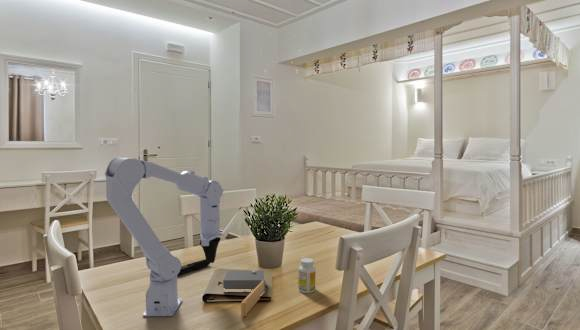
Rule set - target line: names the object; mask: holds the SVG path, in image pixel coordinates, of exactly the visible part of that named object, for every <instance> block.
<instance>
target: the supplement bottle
mask: <svg viewBox="0 0 580 330" xmlns="http://www.w3.org/2000/svg"><path fill="white" fill-rule="evenodd" d="M314 265H315V263H314V259H313V258H310V257H305V258H301V259H300V266H299V267H298V280H297V281H298V285H297V286H298V288H297V289H298V291H299V292H300V293H303V294H311V293H314V292H315V291H316V273H317V271H316V267H315V266H314Z"/></svg>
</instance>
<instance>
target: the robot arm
mask: <svg viewBox="0 0 580 330" xmlns="http://www.w3.org/2000/svg"><path fill="white" fill-rule="evenodd" d="M104 176H105V178H106V179H105V180H106V182H105V185H106V187H105V188H106V194H105V195H106V197H105V198H106V201H107V203H108V204H109V205H110V207H111V208H112V210H113V212H115V213H116V215H117V216H118V218H119V219H120V220H121V222H122V224H123V225H124V227H125V228H126V229H127V231H128V232H129V234H130V235H131V236H132V238H133V239H134V240H135V242H136V243H137V245H138V246H139V248H140V249H141V251H142V254H143V255H142V256H144V258H145V261H146V266H147V268H148V270H150V274H149V287H148V288H147V290H146V291H145V311H144V312H143V313H142V316H143V317H172V316H173V315H174V314H175V312H176V311H177V309H179V306H180V305H181V303H182V302H183V298H178V297H179V296H178V292H179V291H178V289H179V288H178V277H177V275H178V273H179V272H180V269H181V266H182V264H181V263H182V261H181V260H180V258H178V257H177V256H174V255H173V254H172V253H171V252H170V250H169V249H167V247H166V246H165V245H164V244H162V242H161V241H160V239H159V237H158V236H157V234H156V233H155V231H154V229H152V227H151V226H150V224H149V223H148V221H147V220H146V218H145V216H144V215H143V213H142V212H141V210H140V208H138V207H137V205H136V204H135V202H134V201H133V198H132V195H133V193H134V190H135V188H136V187H137V186H138V184H139V183H140V182H141V181H142V179H149V178H151V177H153V178H156V179H159V180H163V181H166V182H170V183H173V184H175V185H176V187H177V189H178V190H180V191H183V192H186V193H189V194H192V195H195V196H198V197H199V201H200V206H199V209H200V233H199V236H200V241H199V244H200V245H199V246H200V247H202V250H203V254H204V256H205V259H206V261H207V263H210V264H214V263H215V260H216V257H217V250H218V247H219V243H220V241H221V237H223V236H224V231H220V230H221V229H220V228H221V225H220V216H221V214H220V211H221V210H220V203H221V197H222V196H223V193H224V188H223V187H222V185H221V184H220V182H219V181H216V180H210V179H209V177H208V176H205V175H203V176H201V175H199V174H196V172H195V171H194V170H188V171H187V170H184V171H182V172H181V173H180V172H177V171H175V170H172V169H169V168H167V167H165V166H163V165H160V164H158V163H155V162H151V161H146V160H143V159H139V158H138V159H137V158H135V157H124V156H117V157H115V158H113V159H112V160H111V161H109V162H108V165H107V167H106V170H105V172H104ZM222 188H223V189H222ZM178 276H179V275H178Z"/></svg>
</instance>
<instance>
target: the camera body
mask: <svg viewBox="0 0 580 330" xmlns="http://www.w3.org/2000/svg"><path fill="white" fill-rule="evenodd" d="M264 274H265V270H259V269H258V270H255V269H254V270H227V271H226V273H225V276H224V277H223V282H222V285H223V287H222V289H223V288H225V289H251V290H252V289H255V288H256V287H257V286H258V285H259V284H260V283H261V282H262V280H265V279H264V278H265V277H264V276H265V275H264Z"/></svg>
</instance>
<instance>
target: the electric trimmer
mask: <svg viewBox="0 0 580 330" xmlns="http://www.w3.org/2000/svg"><path fill="white" fill-rule="evenodd" d="M210 264H211V263H207V261H206V258H204V259H202V260H198V261H194V262H191V263H189V264H185V265H181V269H180V272H179V273H178V275H177V278H178V277H179V276H181V275H184V274H187V273H190V272H192V271H198V270H201V269H203V268H205V267H207V266H210Z"/></svg>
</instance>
